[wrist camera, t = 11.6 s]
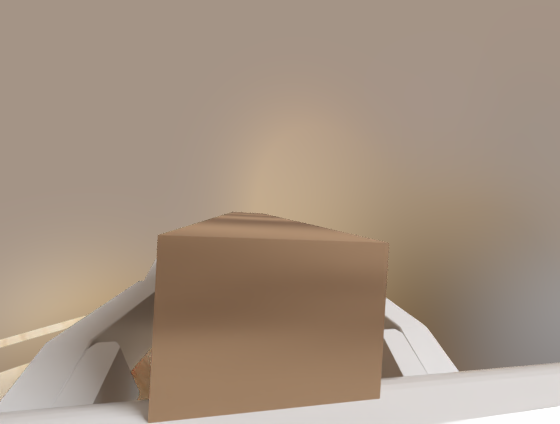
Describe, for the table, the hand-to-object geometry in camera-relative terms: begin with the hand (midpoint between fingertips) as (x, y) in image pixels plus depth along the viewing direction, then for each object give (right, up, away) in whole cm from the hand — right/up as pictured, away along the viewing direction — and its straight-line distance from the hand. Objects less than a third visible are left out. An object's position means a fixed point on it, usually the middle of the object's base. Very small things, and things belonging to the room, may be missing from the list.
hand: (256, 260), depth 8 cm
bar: (-1, -2, +6) cm, 6 cm away
